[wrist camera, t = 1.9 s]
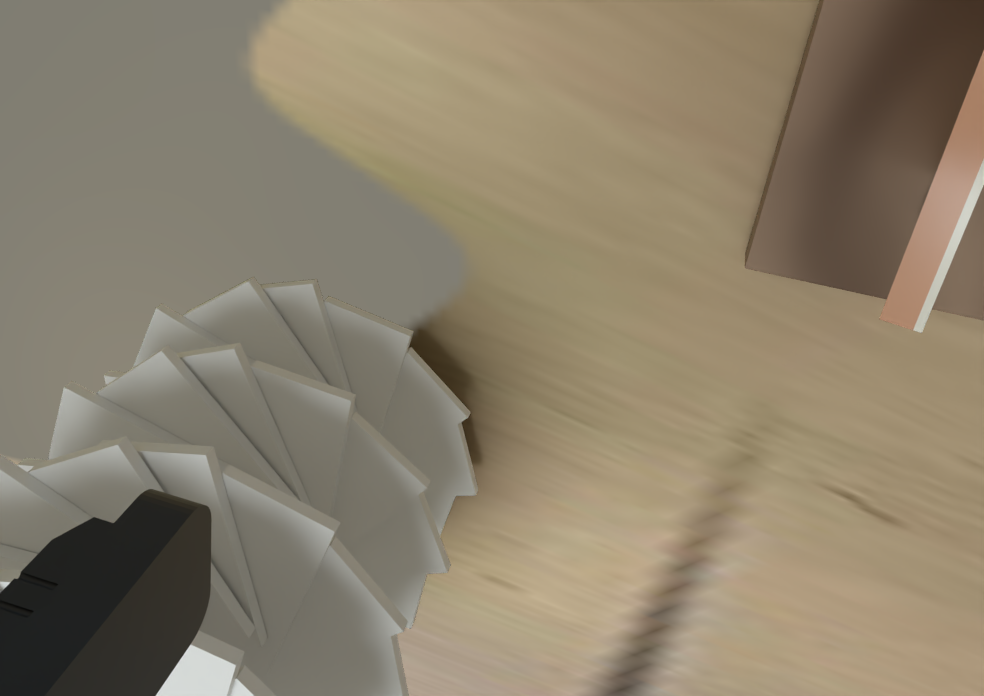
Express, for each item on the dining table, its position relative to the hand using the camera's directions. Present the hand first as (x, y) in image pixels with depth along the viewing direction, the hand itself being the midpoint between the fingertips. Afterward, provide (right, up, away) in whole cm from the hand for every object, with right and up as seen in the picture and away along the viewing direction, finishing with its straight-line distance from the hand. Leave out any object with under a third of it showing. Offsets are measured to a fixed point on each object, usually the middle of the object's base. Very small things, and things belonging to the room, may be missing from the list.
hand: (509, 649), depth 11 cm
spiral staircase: (-8, +1, +36) cm, 37 cm away
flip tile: (+13, +10, +15) cm, 22 cm away
